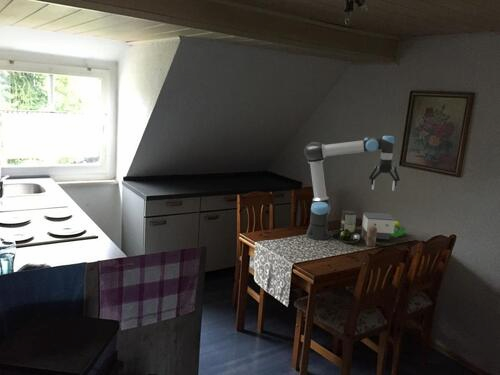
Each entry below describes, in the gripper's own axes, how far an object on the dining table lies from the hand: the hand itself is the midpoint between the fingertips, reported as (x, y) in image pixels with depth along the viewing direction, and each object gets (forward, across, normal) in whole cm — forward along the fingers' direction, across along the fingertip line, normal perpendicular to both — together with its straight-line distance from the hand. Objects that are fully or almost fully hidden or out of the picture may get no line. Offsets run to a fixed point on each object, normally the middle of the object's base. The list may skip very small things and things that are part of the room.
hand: (382, 190), depth 286 cm
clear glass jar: (+35, -18, +16) cm, 42 cm away
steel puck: (+35, -15, -5) cm, 38 cm away
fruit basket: (+35, +16, +12) cm, 40 cm away
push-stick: (+35, -8, -10) cm, 37 cm away
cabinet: (+35, -1, -2) cm, 35 cm away
